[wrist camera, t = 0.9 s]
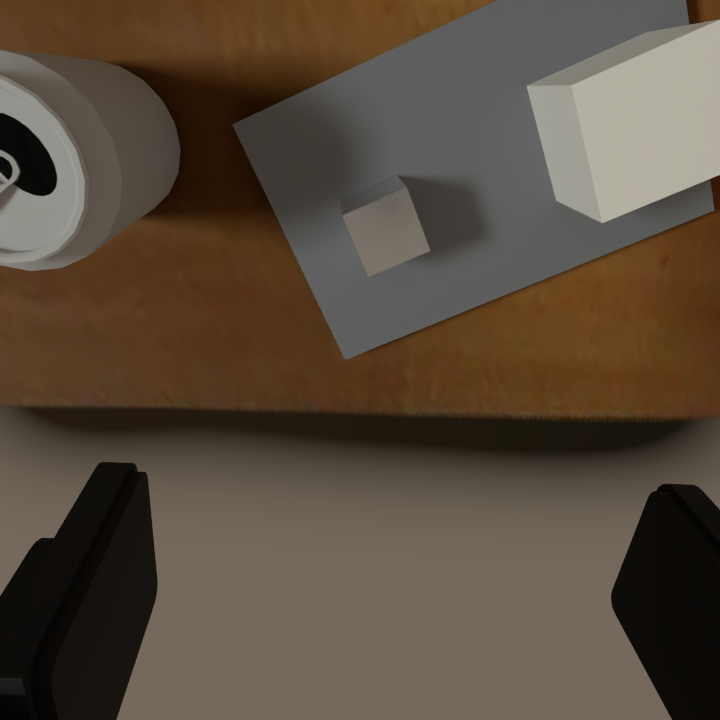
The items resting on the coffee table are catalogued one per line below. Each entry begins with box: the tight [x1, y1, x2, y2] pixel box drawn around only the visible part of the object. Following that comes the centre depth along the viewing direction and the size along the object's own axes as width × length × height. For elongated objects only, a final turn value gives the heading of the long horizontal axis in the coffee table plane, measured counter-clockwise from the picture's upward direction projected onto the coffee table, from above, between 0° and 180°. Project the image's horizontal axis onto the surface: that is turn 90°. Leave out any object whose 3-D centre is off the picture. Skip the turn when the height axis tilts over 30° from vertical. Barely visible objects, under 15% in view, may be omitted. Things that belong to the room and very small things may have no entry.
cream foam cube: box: [527, 20, 720, 223], centre depth 26 cm, size 6×6×6 cm
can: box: [0, 49, 181, 271], centre depth 24 cm, size 8×8×12 cm
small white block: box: [340, 175, 430, 277], centre depth 29 cm, size 3×3×4 cm
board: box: [232, 0, 714, 360], centre depth 30 cm, size 22×14×2 cm, turn 113°
